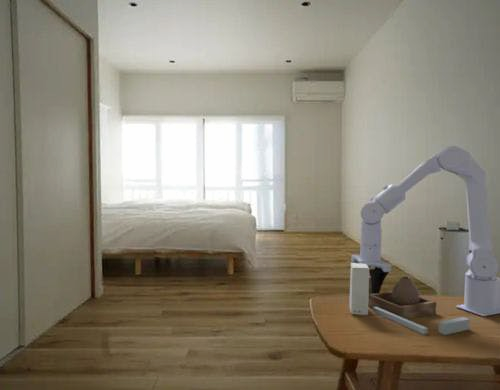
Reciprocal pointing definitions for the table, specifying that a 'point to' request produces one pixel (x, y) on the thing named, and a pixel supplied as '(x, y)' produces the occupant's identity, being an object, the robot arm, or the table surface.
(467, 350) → the table surface
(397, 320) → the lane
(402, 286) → the vase
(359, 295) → the skincare box
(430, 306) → the wooden handled frame
